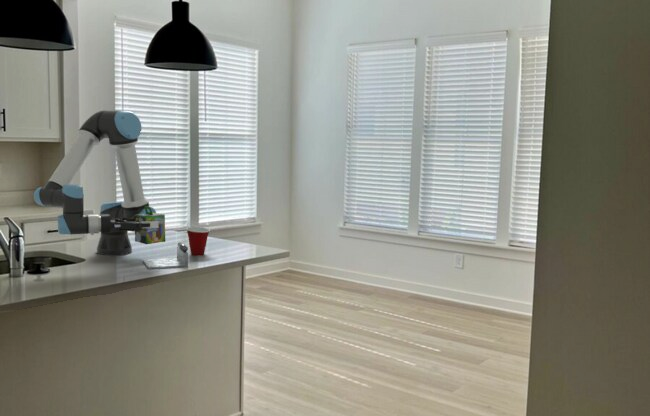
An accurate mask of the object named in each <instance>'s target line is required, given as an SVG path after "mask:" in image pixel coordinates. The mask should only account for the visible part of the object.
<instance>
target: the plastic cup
mask: <svg viewBox="0 0 650 416" xmlns="http://www.w3.org/2000/svg"><path fill="white" fill-rule="evenodd" d="M185 228H186V231H187V238H188V244H189V249H190V255H192V256H204V254H205V251H206V247H207V241H208V237H209V233H210V232H211V229H210V228H206V227H200V226H191V227H190V226H188V227H185Z"/></svg>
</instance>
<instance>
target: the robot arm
mask: <svg viewBox="0 0 650 416" xmlns="http://www.w3.org/2000/svg"><path fill="white" fill-rule="evenodd" d="M141 132H142V122H141V120H140V118H139V117H138V115H136V114H135V113H134V112H132V111H129V110H124V109H122V110H121V109H120V110H106V109H105V110H99V111H96V112H95V113H93V114H92V115H91V116H89V118H87V119H86V121H84V122H83V124H82V125H81V126H80V128H79V129H78V130H77V137H76V138H75V139H74V142H73V143H72V144H71V146H70V148H69V149H68V151H67V152H66V154H65V155H64V157H62V159H61V161H60V163H59V164H58V165H57V167H56V169H55V170H54V172H53V174H52V175H51V176H50V178H49V179H48V181H47V183H46V184H45V186H41V187H38V188H37V189H35V191H34V193H33V200H34V201H35V203H36V204H37V205H39V206H42V207H46V208H47V207H48V208H49V207H51V208H60V209H62V214H61V215H58V216H57V231H58V232H57V233H58V234H60V235H84V234H85V235H88V234H90V235H92V236H94V234H99V233H100V238H99V241H98V244H97V247H96V253H97V254H99V255H104V256H105V255H106V256H107V255H108V256H111V255H113V256H117V255H126V254H130V253H132V252H133V247H132V243H131V241H130V238H129V235H128V234H129V233H128V232H133V233H135V229H138V230H142V228H158V221H144V222H135V214H143V213H146V212H145V208H144V206H148V207H151V210H152V213H157V211H156V209H155V208H154V207H152V206H150V201H149V199H147V198H146V197H145V194H144V188H143V184H142V183H143V181H142V178H141V172H140V166H139V161H138V155H137V149H136V144H137V142H138V138H139V137H140V136H141ZM104 139H108V143H109V145H110V146H111V147H112V148H114V154H115V160H116V165H117V170H118V174H119V175H118V176H119V180H120V185H121V190H122V195H123V201H111V202H103V203H102V204H101V205H100V211H99V214H100V215H99V214H84V211H85V210H84V201H85V199H84V197H85V196H84V195H85V194H84V188H83V186H82V185H81V184H74V183H73V184H71V183H72V181H74V179H75V177H76V175H77V174H78V173H79V171H80V170H81V168H82V167H83V165H84V163H85V161H86V160H87V158H88V157H89V155H90V153H91V151H93V149H94V147H95V146H98V145H99V144H100V143H101V141H102V140H104ZM147 211H148V212H150V210H149V209H147Z"/></svg>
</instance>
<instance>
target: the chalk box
mask: <svg viewBox="0 0 650 416" xmlns="http://www.w3.org/2000/svg"><path fill="white" fill-rule="evenodd" d="M151 207H152V206H149V207H148V206H144V208H145V212H146V213H143V214H135V222H144V221H158V228H142V230H138V229H135V232H134V242H135V243H140V244H144V245H152V244H156V243H157V244H158V243H165V242H166V218H165V217H166V215H165V214H164V213H163V214H162V213H157V212H156V213H152V210H151ZM147 209H149V210H150V212H148V211H147Z"/></svg>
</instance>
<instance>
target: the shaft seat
mask: <svg viewBox="0 0 650 416" xmlns="http://www.w3.org/2000/svg"><path fill="white" fill-rule="evenodd" d="M188 250H189V247H188V246H187V245H185V244H184V243H183V242H180V241H179V242H178V243H177V246H176V257H171V258H169V257H168V258H152V259H151V258H150V259H149V258H148V259H142V262H143V264H144V265H145V267H146V268H147V269H148V270H157V269H159V270H160V269H175V268H189V252H188Z"/></svg>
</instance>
